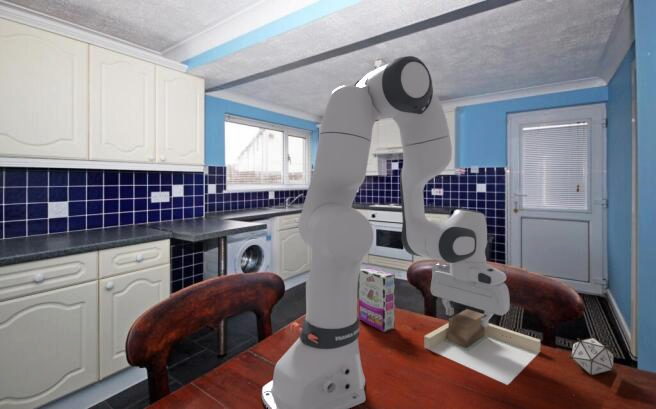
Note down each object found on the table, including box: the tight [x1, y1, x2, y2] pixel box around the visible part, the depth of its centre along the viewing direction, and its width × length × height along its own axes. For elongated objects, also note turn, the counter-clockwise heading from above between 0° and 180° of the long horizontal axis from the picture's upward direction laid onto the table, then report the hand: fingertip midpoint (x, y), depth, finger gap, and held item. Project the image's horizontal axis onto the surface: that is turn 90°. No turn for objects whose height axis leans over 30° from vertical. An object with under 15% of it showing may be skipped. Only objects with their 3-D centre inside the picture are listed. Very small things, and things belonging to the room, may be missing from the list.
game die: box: [567, 333, 618, 376], centre depth 71 cm, size 9×8×10 cm
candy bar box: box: [358, 267, 396, 333], centre depth 96 cm, size 11×5×16 cm, turn 36°
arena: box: [423, 322, 541, 386], centre depth 80 cm, size 20×20×4 cm
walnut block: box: [448, 308, 486, 348], centre depth 85 cm, size 5×10×6 cm, turn 130°
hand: (466, 320), depth 85 cm, fingers open, 8 cm apart
